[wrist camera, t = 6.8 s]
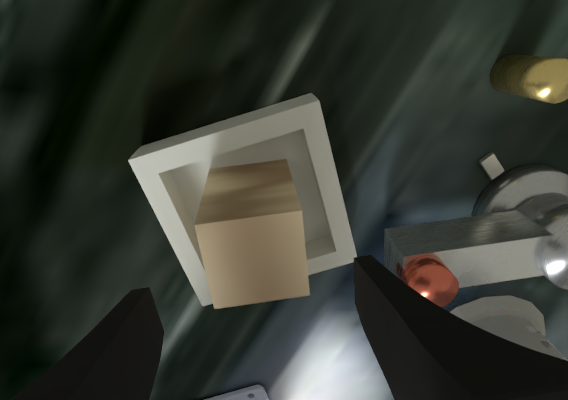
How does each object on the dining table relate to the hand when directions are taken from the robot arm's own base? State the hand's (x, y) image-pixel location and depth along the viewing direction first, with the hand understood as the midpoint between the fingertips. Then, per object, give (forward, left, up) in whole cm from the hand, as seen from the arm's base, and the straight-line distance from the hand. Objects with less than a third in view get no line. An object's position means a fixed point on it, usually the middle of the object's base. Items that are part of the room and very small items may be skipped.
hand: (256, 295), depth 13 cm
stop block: (0, 0, -8) cm, 8 cm away
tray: (0, 0, -8) cm, 8 cm away
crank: (+12, -5, -6) cm, 14 cm away
